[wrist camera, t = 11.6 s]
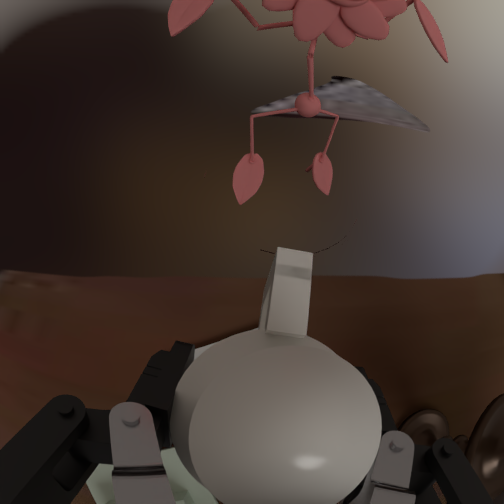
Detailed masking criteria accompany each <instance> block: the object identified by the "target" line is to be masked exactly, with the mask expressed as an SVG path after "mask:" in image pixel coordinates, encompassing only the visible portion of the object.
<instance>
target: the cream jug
mask: <svg viewBox="0 0 504 504" xmlns="http://www.w3.org/2000/svg"><path fill="white" fill-rule="evenodd" d="M312 258H313V253H310V252H304V251H298V250H292V249H287V248H281V247H278V248H277V251H276V254H275V258H274V261H273V264H272V267H271V270H270V273H269V276H268V279H267V282H266V285H265V288H264V294H263V300H262V307H261V314H260V320H259V327H258V330H252V331H246V332H243V333H239V334H235V335H233V336H230V337H228V338H225V339H223V340H221V341H220V342H218V343H216V344H214V345H212V346H211V347H210V348H208V349H207V350H206V351H204V352H203V353H202V354H201V355H199V356H198V357H197V358H196V359H195V360H194V361H193V362H192V364H191V365H190V366H189V367H188V369H187V370H186V371H185V372H184V374H183V376H182V378H181V379H180V381H179V383H178V385H177V387H176V390H175V395H174V401H173V406H172V412H171V417H170V432H171V437H172V442H173V445H174V447H175V450H176V453H177V455H178V457H179V459H180V460H181V462H182V464H183V465H184V467H185V468H186V469H187V471H188V472H189V473H190V474H191V475H192V476H193V477H194V479H195V480H196V481H197V482H199V483H200V484H201V485H202V486H204V487H205V488H206V489H208V490H209V492H210V493H212V494H213V495H214V496H215V497H216V498H217V499H218V500H219V501H221V502H222V503H224V504H336V503H338V502H339V501H341V500H342V499H343V498H345V497H346V496H347V495H348V494H350V493H351V492H352V491H353V490H354V489H355V488H356V487H357V486H358V485H359V483H360V482H361V481H362V480H363V479H364V477H365V476H366V474H367V473H368V471H369V470H370V468H371V466H372V464H373V462H374V460H375V457H376V455H377V452H378V449H379V445H380V440H381V431H382V422H381V413H380V408H379V404H378V401H377V398H376V396H375V394H374V392H373V390H372V388H371V386H370V384H369V383H368V382H367V380H366V379H365V377H364V376H363V375H362V374H361V373H360V372H359V371H358V370H357V369H356V368H355V367H354V366H352V365H351V364H350V363H349V362H347V361H346V360H344V359H342V358H341V357H339V356H338V355H337V354H336V353H334V352H333V351H332V350H331V349H330V348H328V347H327V346H325V345H324V344H322V343H321V342H319V341H317V340H315V339H313V338H311V337H309V336H306V334H307V324H308V313H309V302H310V289H311V275H312V260H313V259H312Z"/></svg>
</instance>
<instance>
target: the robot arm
mask: <svg viewBox="0 0 504 504" xmlns="http://www.w3.org/2000/svg"><path fill="white" fill-rule="evenodd" d="M194 354H195V345H194V344H189V343H184V342H180V341H176V342H175V343H174V345H173V347H172V349H171V351H170V352H168V351H164V350H160V351H159V352H157V353H156V354H154V355H153V356H152V357H151V358H150V360H149V362H148V364H147V367H145V369H144V371H143V374H141V376H140V378H139V380H138V382H137V383H136V385H135V387H134V389H133V391H132V392H131V394H130V396H129V398H128V400H127V401H126V402H124V403H120V404H118V405H116V406H115V407H114V408H113V409H112V410H97V409H89V408H85V406H84V404H83V402H82V401H81V400H80V399H78V398H77V397H75V396H72V395H59V396H57V397H55V398H53V399H52V400H51V401H50V402H49V403H48V404H46V405H45V406H44V407H43V408H42V409H41V410H40V411H39V412H38V413H37V414H36V415H35V416H34V417H33V418H32V419H31V420H30V421H29V422H28V423H27V424H26V425H25V426H24V427H23V428H22V429H21V430H20V431H19V432H18V433H17V434H16V435H15V436H14V437H13V438H12V439H11V440H10V441H9V442H8V443H7V444H6V445H5V446H4V447H3V448H2V449H1V450H0V504H70V503H71V502H72V501H73V499H74V498H75V496H76V495H77V494H78V492H79V491H80V490H81V488H82V487H83V485H84V484H85V483H86V481H87V480H88V478H89V477H90V476H91V474H92V473H93V472H94V470H95V469H96V467H97V466H98V465H99V463H100V464H109V465H113V470H112V484H113V490H114V496H115V501H116V504H176V502H175V499H174V496H173V493H172V490H171V487H170V483H169V480H168V476H167V473H166V470H165V468H164V465H163V461H162V458H161V454H160V453H161V450H162V447H167V448H171V445H172V437H171V432H170V417H171V412H172V406H173V401H174V395H175V390H176V387H177V385H178V383H179V381H180V379H181V378H182V376H183V374H184V372H185V371H186V370H187V369H188V367H189V366H190V365H191V364H192V362H193V361H194ZM355 368H356V369H357V370H358V371H359V372H360V373H361V374H362V375H363V376H364V377H365V379H366V380H367V382H368V383H369V384H370V386H371V388H372V390H373V392H374V394H375V396H376V398H377V401H378V404H379V408H380V413H381V422H382V431H381V440H380V445H379V449H378V452H377V455H376V457H375V460H374V462H373V464H372V466H371V468H370V470H369V471H368V473H367V474H366V476H365V477H364V479H363V480H362V481H361V482H360V483H359V485H358V486H357V487H356V488H355V489H354V490H353V491H352V492H351V493H350V494H348V495H347V496H346V497H345V498H343V499H342V500H341V501H340V502H339V504H442V503H441V501H440V500H439V498H438V496H437V494H436V492H435V490H434V488H433V486H432V484H434V483H435V482H436V481H437V483H438V485H439V487H440V489H441V491H442V492H443V494H444V496H445V498H446V500H447V504H504V491H503V492H502V493H501V494H500V495H499V496H498V497H496V498H495V499H493V500H492V499H491V497H490V495H489V494H488V492H487V490H486V489H485V487H484V485H483V484H482V482H481V480H480V479H479V477H478V475H477V474H476V472H475V471H474V469H473V468H472V466H471V464H470V463H469V461H468V460H467V458H466V457H465V455H464V454H463V452H462V451H461V449H460V448H459V446H458V445H457V443H455V442H454V441H453V440H451V439H448V438H440V439H438V440H436V441H435V442H434V443H433V445H432V446H425V445H418V444H414V443H413V441H412V439H411V438H410V437H409V436H408V435H407V434H405V433H403V432H401V431H398V430H397V428H396V425H395V423H394V420H393V418H392V415H391V413H390V410H389V408H388V405H386V404H387V403H386V400H385V398H383V397H384V396H383V393H382V391H381V389H380V387H379V386H378V385H377V384H376V383H375V382H374V380H373V379H368V377H367V375H366V373H365V370H364V368H363V367H355Z"/></svg>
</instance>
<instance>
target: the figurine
mask: <svg viewBox="0 0 504 504" xmlns="http://www.w3.org/2000/svg"><path fill="white" fill-rule="evenodd" d="M231 1H232V2H233V3H234V4H235V5H236V6H237V7H238V8H239V10H240V11H241V12H242V13H243V14H244V15H245V17H246V18H247V19H248V20H249V21H250V23H251V24H252V25H253V26H254V27H257V26H258V29H257V31H258V30H264V29H271V28H279V27H288V26H293V28H294V35H295V37H296V38H297V39H298V40H299V41H305V42H307V41H311V44H310V47H309V51H308V56H307V64H308V78H309V93H303V94H300V95H299V96H298V97H297V98H296V101H295V108H291V109H284V110H277V111H271V112H265V113H260V114H254V115H251V117H250V143H251V153H249V154H246V155H244V156H243V158H242V159H241V160H240V161H239V163H238V164H237V165H236V168H235V171H234V174H233V189H234V192H235V195H236V198H237V201H238V203H239V204H240V205H241V204H243V203H244V202H246V201H247V200H248V199H249V198H251V197H252V196H253V195H254V194H255V193H256V192H257V190H258V188H259V187H260V185H261V183H262V179H263V176H264V166H263V160H262V158H261V157H260V156H259V155H258V154H257V153H256V154H254V140H253V139H254V137H253V118H255V117H260V116H266V115H273V114H279V113H286V112H294V111H297V112H298V113H299V114H300V115H301V116H304V117H312V116H315V115H317V114H318V113H319V112H321V113H324V114H328V115H331V116H335V117H336V118H335V121H334V124H333V127H332V130H331V133H330V135H329V138H328V141H327V144H326V147H325V149H324V152H323V153H322V152H319V153H316V155H315V157H314V159H313V163H312V164H311V165H310V166H309V167H308V168H307V169H306V170H305V171H306V172H308V171H310V170H311V169H312V175H313V181H314V182H315V184H316V186H317V188H318V189H319V190H321V191H322V192H323V193H324V194H326V195H328V194H329V191H330V187H331V183H332V176H333V174H332V173H333V168H332V165H331V162H330V160H329V158H328V157H327V155H326V151H327V148H328V146H329V143H330V141H331V138H332V135H333V132H334V129H335V127H336V124H337V121H338V119H339V115H337V114H334V113H331V112H328V111H325V110H321V103H320V100H319V99H318V97H317V96H315V95H314V94H313V81H314V80H313V79H314V77H313V76H314V73H313V55H314V51H315V46H316V42H317V38H318V36H319V35H321V33H324V34H325V36H326V37H327V38H328V39H329V40H330V41H331V42H332V43H333V44H334V45H336V46H338V47H342V48H343V47H346V46H349V45H350V44H351V43H352V42H353V41H354V40H355V36H357V37H361V38H364V39H368V38H369V39H375V40H382V39H385V38H386V37H387V35H388V34H389V25H388V22H389V21H390V20H391V19H393V18H394V17H395V16H396V15H399V14H401V13H403V12H404V11H405V10H406V9H407V7H408V6H409V5H410V4H412V3H413V2H414V7H415V9H416V12H417V14H418V17H419V19H420V22H421V24H422V25H423V28H424V30H425V32H426V34H427V36H428V38H429V39H430V41H431V43H432V45H433V46H434V48H435V49H436V50H437V52H438V53H439V54H440V56H441V57H442V59H443V60H444V61H445V62H446V63H448V58H447V53H446V48H445V45H444V40H443V38H442V35H441V33H440V30H439V28H438V26H437V24H436V22H435V20H434V18H433V16H432V15H431V13H430V12H429V10H428V9H427V7H426V6H425V5H424V4H423V2H421V1H420V0H407V1H405V0H262V6H264V7H265V8H266V9H267V10H269V11H287V10H293V21H289V22H280V23H272V24H265V25H259V24H258V23H257V21H256V20H255V19H254V18H253V17H252V15H251V14H250V13H249V12H248V11H247V9H246V8H245V7H244V6H243V5H242V4H241V2H239V0H231ZM213 2H214V0H173V1H172V3H171V6H170V9H169V12H168V23H169V30H170V34H171V36H172V37H174V36H176V35H177V34H179V33H180V32H182V31H183V30H184V29H186V28H187V27H188V26H190V25H191V24H192V23H194V22H195V21H196V20H198V19H199V18H200V17H201V16H202V15H203V14H204V13H205V12H206V10H207V9H208V8H209V7H210V6H211V5H212V4H213ZM384 17H386V18H384ZM327 249H328V248H327ZM263 251H264V250H263ZM269 253H271V252H269ZM275 254H276V253H275Z"/></svg>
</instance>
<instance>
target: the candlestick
mask: <svg viewBox="0 0 504 504" xmlns="http://www.w3.org/2000/svg"><path fill="white" fill-rule="evenodd" d="M398 431H401V432H403V433H405V434H407V435H408V436H409V437H410V438H411V439H412V441H413V443H414V444H418V445H425V446H432V445H433V443H434V442H435V441H436V440H438V439H440V438H448V439H451V440H453V441H454V442H455V443H457V445H458V446H459V448H460V449H461V451H462V452H463V454H464V455H465V457H466V458H467V460H468V461H469V463H470V464H471V466H472V468H473V469H474V471H475V472H476V474H477V475H478V477H479V479H480V480H481V482H482V484H483V485H484V487H485V489H486V490H487V492H488V494H489V495H490V497H491V499H492V500H493V499H495V498H496V497H498V496H499V495H500V494H501V493H502V492H503V491H504V394H501V395H499V396H498V397H496V398H495V399H494V400H493V401H492V402H491V403H490V404H489V405H488V406H487V408H486V409H485V410H484V412H483V413H482V415H481V416H480V418H479V420H478V422H477V423H476V425H475V427H474V429H473V432H472V434H471V436H470V438H469V441H468V438H467V437H466V436H465V435H459V436H457V437H455V438H454V439H452V437H450V436H449V425H448V422H447V419H446V417H445V416H444V415H443V414H442V413H441V412H439V411H437V410H432V409H425V410H420V411H418V412H415V413H414V414H412V415H411V416H409V417H408V418H407V419H406V420H405V421H404V422H403V423H402V425H401V426H400V427H399V429H398Z"/></svg>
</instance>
